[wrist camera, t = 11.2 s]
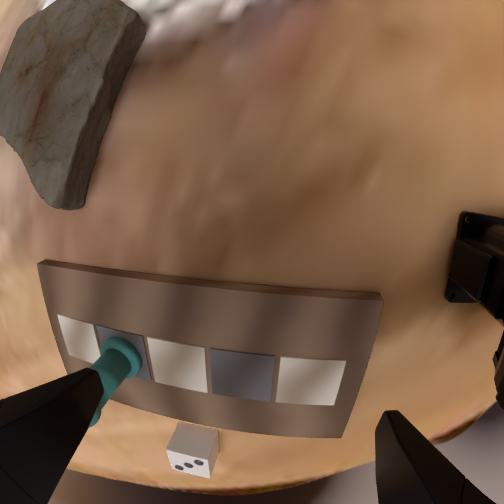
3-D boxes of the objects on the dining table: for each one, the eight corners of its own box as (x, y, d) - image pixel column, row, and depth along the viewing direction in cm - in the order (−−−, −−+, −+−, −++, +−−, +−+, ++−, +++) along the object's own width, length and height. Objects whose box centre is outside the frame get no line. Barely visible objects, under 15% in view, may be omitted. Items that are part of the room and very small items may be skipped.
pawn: (138, 341, 21) (78, 412, 13) (145, 375, 22) (96, 446, 14) (102, 332, 21) (40, 392, 13) (111, 366, 22) (59, 427, 14)
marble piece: (86, 210, 20) (50, 221, 16) (2, 157, 20) (-27, 160, 16) (170, 13, 15) (145, -12, 11) (59, 8, 15) (33, -3, 11)
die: (217, 429, 24) (207, 460, 20) (219, 450, 25) (210, 479, 21) (179, 421, 25) (165, 450, 21) (183, 442, 26) (171, 469, 22)
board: (379, 293, 18) (384, 301, 17) (340, 428, 22) (341, 439, 21) (45, 259, 22) (35, 264, 20) (77, 378, 26) (70, 384, 24)
